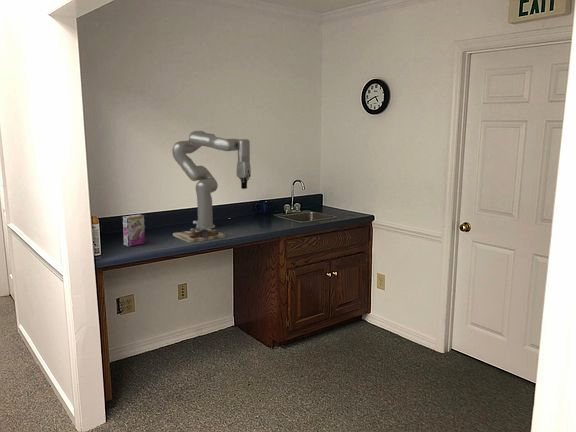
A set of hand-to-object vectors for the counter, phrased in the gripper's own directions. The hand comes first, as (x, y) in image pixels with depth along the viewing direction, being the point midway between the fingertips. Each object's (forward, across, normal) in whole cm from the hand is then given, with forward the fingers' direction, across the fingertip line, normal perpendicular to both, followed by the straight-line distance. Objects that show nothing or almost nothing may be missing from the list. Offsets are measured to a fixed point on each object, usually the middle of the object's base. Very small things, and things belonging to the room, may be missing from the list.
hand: (244, 188), depth 310 cm
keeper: (+26, +4, -33) cm, 42 cm away
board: (+27, -2, -31) cm, 41 cm away
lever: (+25, +4, -31) cm, 40 cm away
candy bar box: (+27, -5, -70) cm, 75 cm away
